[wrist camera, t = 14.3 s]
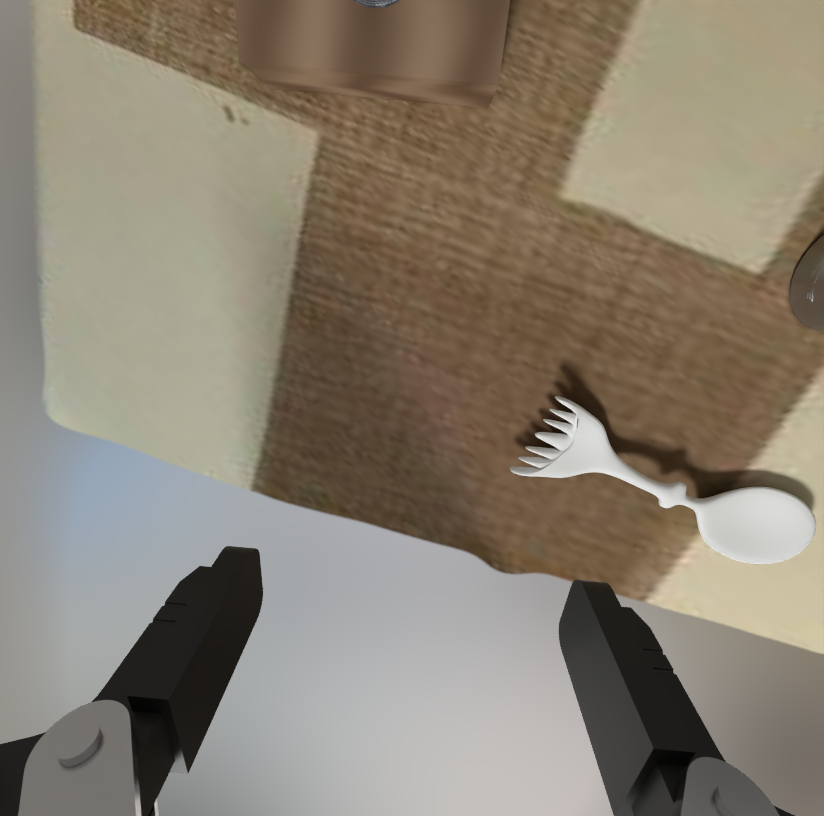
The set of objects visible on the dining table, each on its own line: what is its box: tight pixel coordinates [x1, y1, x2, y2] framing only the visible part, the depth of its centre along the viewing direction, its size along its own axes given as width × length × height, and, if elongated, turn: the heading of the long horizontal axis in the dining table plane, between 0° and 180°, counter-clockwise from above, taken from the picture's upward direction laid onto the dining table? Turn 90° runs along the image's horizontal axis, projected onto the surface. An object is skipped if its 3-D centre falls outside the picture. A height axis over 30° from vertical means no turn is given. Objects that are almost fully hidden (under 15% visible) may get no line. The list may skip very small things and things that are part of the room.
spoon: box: [510, 396, 816, 564], centre depth 40 cm, size 9×32×4 cm, turn 66°
